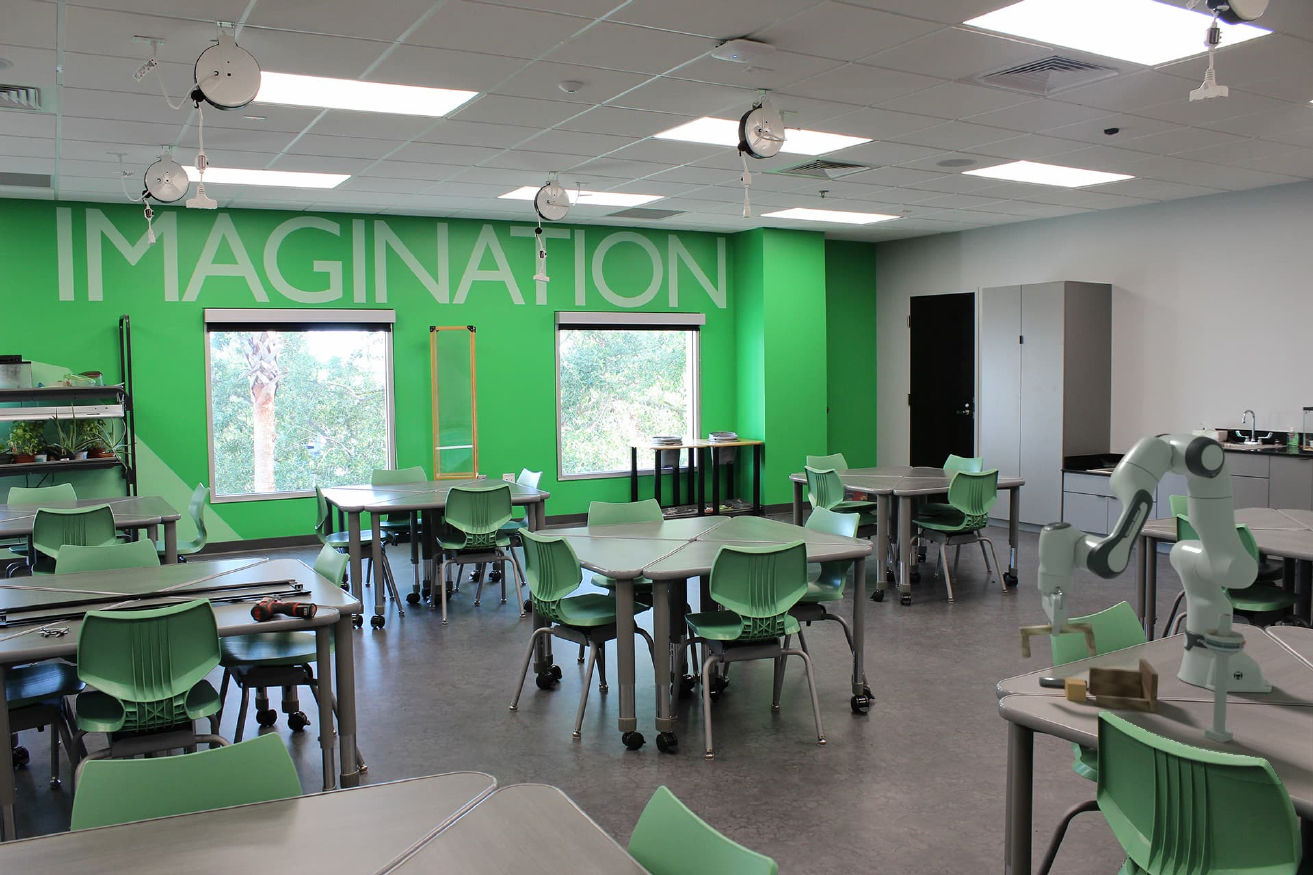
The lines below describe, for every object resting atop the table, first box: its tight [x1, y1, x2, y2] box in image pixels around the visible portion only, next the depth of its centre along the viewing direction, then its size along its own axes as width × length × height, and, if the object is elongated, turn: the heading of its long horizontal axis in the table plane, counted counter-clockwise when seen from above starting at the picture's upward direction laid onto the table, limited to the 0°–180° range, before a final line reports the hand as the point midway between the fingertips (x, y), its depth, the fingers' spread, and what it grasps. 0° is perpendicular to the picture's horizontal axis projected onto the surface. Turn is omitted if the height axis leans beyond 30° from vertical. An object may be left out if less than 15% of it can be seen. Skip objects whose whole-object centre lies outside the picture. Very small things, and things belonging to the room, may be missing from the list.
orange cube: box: [1064, 677, 1087, 702], centre depth 253 cm, size 4×4×4 cm
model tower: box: [1203, 613, 1245, 744], centre depth 224 cm, size 8×8×30 cm
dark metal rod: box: [1038, 676, 1088, 690], centre depth 262 cm, size 12×2×2 cm
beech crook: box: [1018, 622, 1098, 659], centre depth 254 cm, size 18×6×8 cm, turn 75°
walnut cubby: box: [1088, 658, 1159, 714], centre depth 250 cm, size 14×13×10 cm
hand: (1054, 633), depth 254 cm, fingers closed on beech crook
